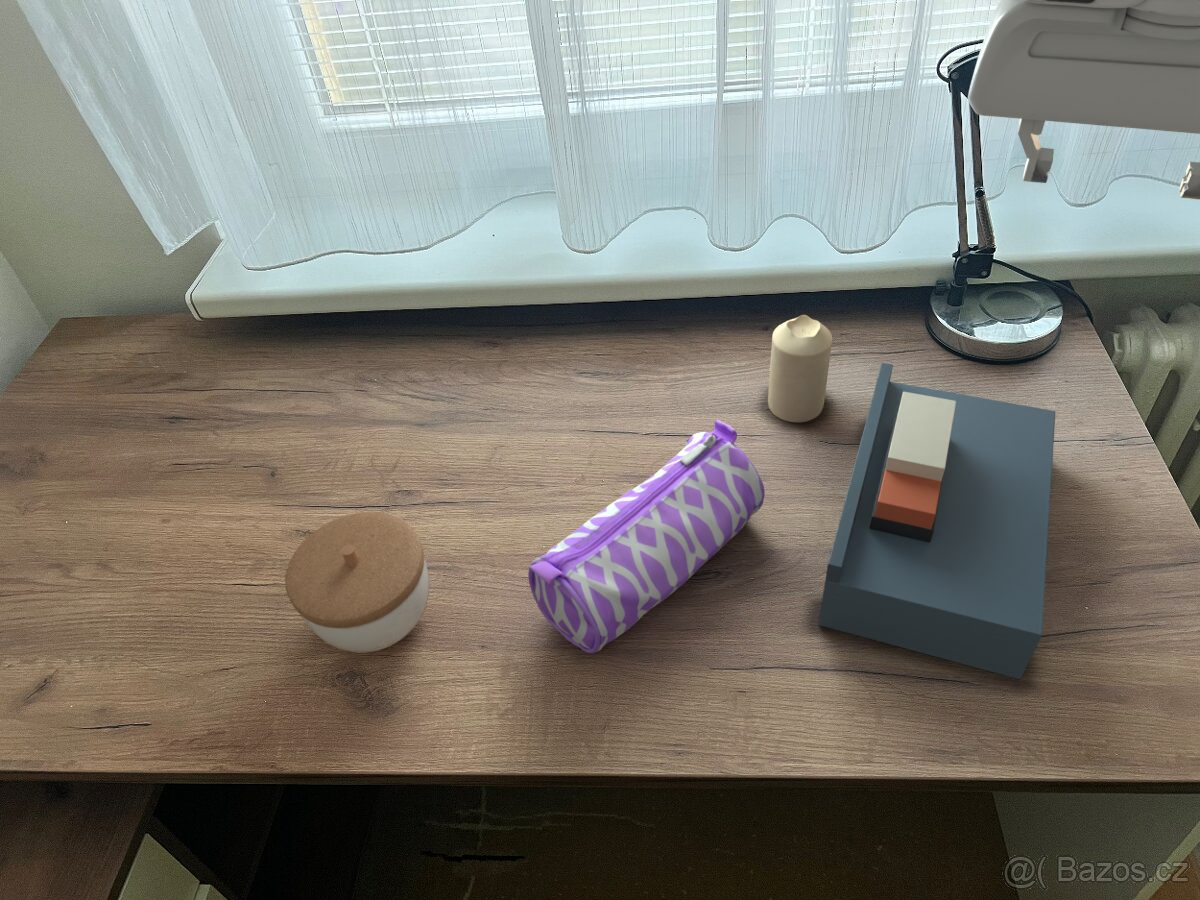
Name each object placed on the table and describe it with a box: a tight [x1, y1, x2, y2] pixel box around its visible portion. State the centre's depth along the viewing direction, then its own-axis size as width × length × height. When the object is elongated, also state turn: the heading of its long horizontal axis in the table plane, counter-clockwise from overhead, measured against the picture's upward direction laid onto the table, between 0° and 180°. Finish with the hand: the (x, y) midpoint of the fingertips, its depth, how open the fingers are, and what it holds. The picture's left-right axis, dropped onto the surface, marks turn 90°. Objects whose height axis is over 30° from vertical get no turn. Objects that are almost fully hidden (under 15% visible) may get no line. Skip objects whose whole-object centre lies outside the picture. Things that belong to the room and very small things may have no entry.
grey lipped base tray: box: [817, 362, 1056, 680], centre depth 72 cm, size 15×24×8 cm, turn 158°
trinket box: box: [284, 511, 430, 653], centre depth 70 cm, size 11×11×9 cm
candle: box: [767, 314, 833, 423], centre depth 84 cm, size 6×6×10 cm
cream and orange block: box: [869, 392, 956, 543], centre depth 70 cm, size 12×5×5 cm, turn 158°
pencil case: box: [527, 419, 765, 654], centre depth 72 cm, size 22×9×10 cm, turn 136°
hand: (1111, 186), depth 58 cm, fingers open, 8 cm apart
